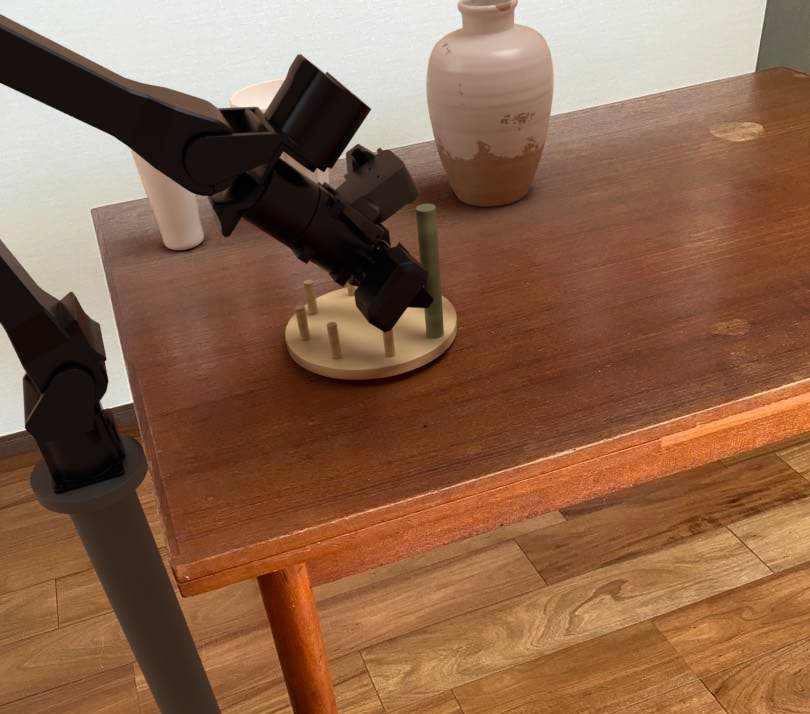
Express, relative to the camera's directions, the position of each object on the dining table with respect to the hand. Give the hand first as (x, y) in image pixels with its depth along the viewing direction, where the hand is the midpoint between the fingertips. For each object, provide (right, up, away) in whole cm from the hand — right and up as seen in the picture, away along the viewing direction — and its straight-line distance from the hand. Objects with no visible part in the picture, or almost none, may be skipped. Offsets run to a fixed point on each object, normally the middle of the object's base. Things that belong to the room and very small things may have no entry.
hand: (427, 299), depth 85 cm
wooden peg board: (-6, -2, +9) cm, 10 cm away
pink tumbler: (-31, +16, +32) cm, 47 cm away
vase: (+10, +24, +35) cm, 43 cm away
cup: (-17, +21, +35) cm, 45 cm away
